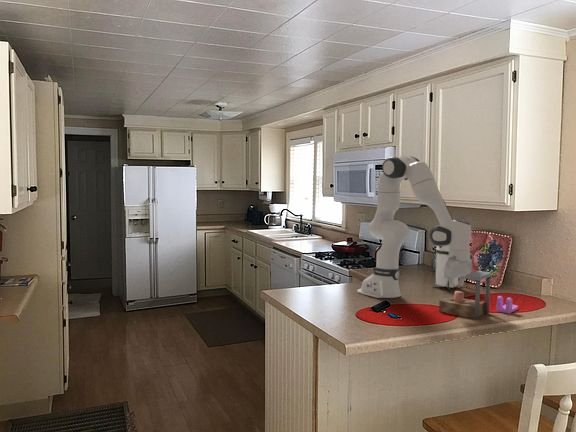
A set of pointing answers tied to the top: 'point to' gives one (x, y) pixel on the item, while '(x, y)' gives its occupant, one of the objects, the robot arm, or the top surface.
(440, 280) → the coffee press
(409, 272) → the top surface
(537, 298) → the top surface
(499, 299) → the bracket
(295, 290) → the top surface
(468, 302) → the socket block
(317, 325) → the top surface
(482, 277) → the grey legged stand
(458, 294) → the peg
